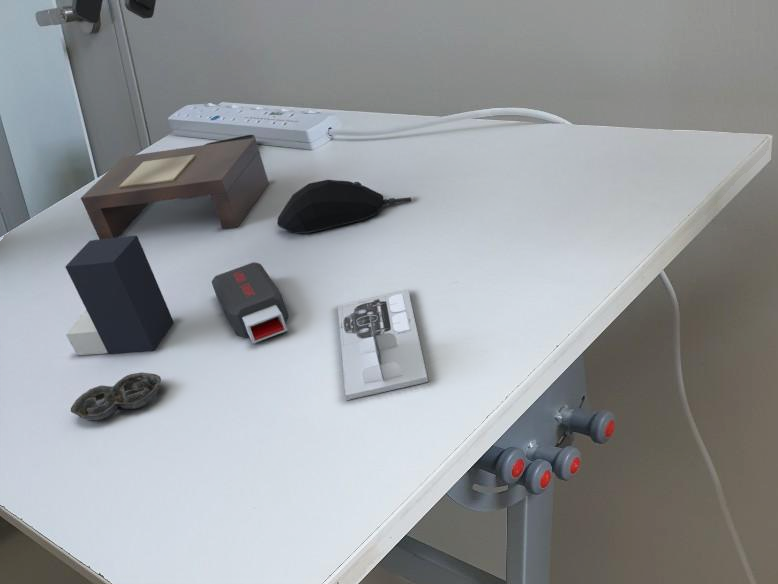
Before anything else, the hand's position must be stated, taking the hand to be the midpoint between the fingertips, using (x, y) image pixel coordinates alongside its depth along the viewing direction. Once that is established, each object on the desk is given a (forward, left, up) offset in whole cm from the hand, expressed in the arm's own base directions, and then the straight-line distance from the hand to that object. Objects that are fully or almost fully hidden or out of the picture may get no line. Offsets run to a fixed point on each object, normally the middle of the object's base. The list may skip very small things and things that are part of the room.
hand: (110, 16), depth 72 cm
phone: (-11, +33, -25) cm, 43 cm away
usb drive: (+7, -6, -25) cm, 26 cm away
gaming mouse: (+11, +14, -25) cm, 31 cm away
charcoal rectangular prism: (-6, -9, -25) cm, 27 cm away
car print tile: (+21, -13, -25) cm, 35 cm away
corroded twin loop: (-1, -20, -25) cm, 32 cm away
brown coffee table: (-11, +20, -25) cm, 34 cm away
